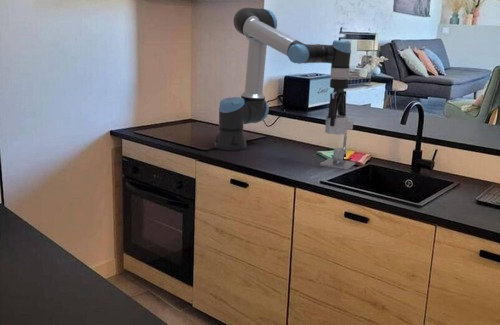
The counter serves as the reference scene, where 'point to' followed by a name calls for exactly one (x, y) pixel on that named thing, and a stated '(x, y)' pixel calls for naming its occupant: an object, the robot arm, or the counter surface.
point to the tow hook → (344, 145)
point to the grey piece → (340, 124)
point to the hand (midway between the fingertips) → (335, 132)
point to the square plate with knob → (338, 160)
